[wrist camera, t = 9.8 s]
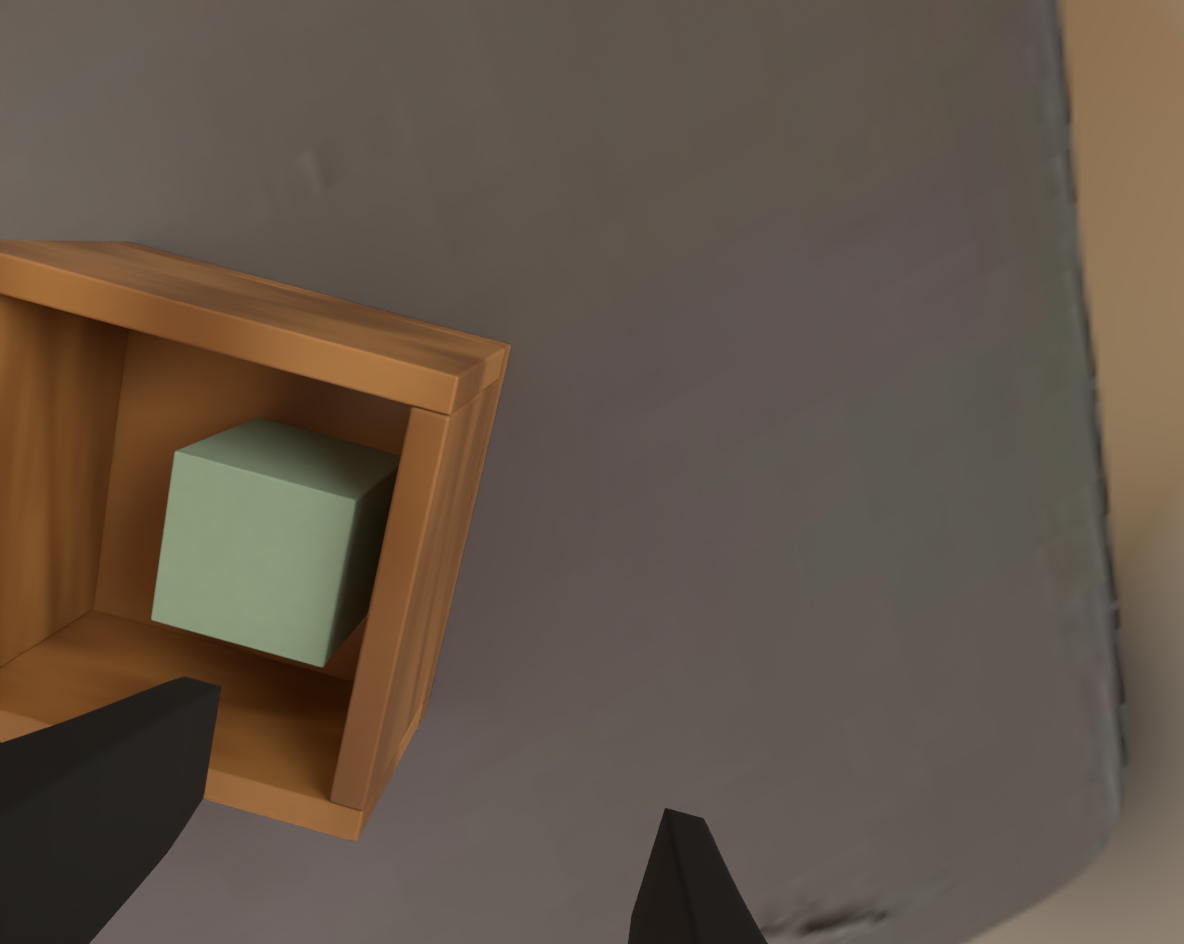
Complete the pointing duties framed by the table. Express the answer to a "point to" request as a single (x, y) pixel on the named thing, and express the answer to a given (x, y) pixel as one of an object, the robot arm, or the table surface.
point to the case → (140, 492)
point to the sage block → (273, 538)
